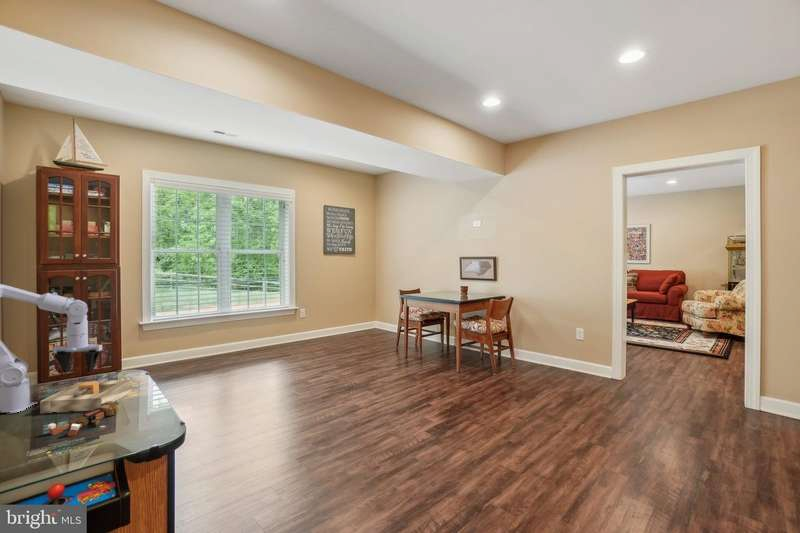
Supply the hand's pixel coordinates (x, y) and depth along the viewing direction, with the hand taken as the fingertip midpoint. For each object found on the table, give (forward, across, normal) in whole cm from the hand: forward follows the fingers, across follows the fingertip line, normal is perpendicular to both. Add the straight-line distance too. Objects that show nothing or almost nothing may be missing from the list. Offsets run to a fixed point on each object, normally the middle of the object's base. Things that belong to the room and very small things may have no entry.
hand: (78, 371), depth 134 cm
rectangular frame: (+9, +6, -5) cm, 12 cm away
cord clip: (+8, +6, -5) cm, 11 cm away
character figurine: (+10, +17, -23) cm, 30 cm away
